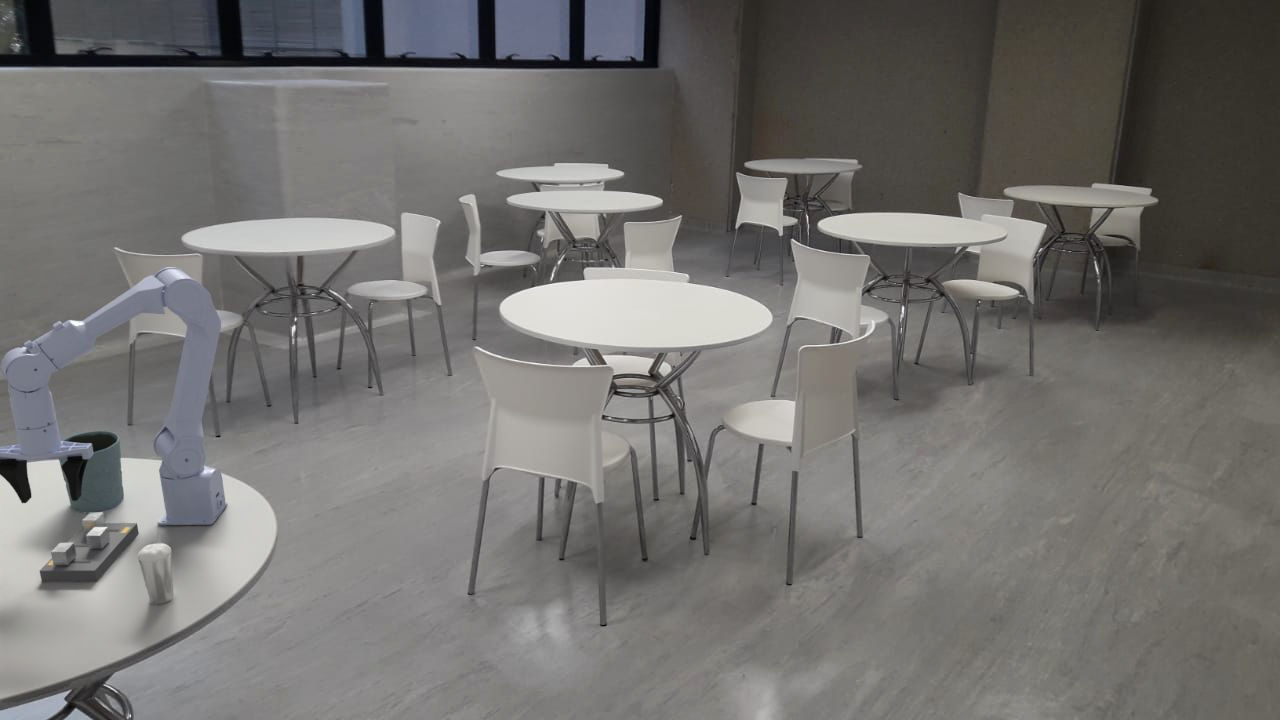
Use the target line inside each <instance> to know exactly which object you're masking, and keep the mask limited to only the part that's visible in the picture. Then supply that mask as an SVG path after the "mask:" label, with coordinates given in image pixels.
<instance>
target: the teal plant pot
mask: <svg viewBox="0 0 1280 720" xmlns="http://www.w3.org/2000/svg"><path fill="white" fill-rule="evenodd" d="M61 441H66V442H75V443H92V447H93V452H94V454H93V455H92V457H91V458H90V459H88V462H87V465H86V468H85V471H84V475H83V480H82V490H81V496H80V498H79V499H78V500H77V501H72V498H71V495H70V489H69V484H68V481H67V478H66V476H65V473H64V471H63V469H62V467H61V466H62V465H63V464H64V463H65V462H66V461H67V458H63V459H58V461H59V464H60V469H61V472H62V477H63V480H64V482H65V489H66V492H67V495H68V499H69V504H70V507H71V508H72V509H73V511H75V512H77V513H82V514H85V513H86V514H89V513H90V512H104V511H107V510H109V509H112V508H115V507H117V506H119V504H121V503H122V502H123V500H124V497H125V494H124V486H123V472H122V461H121V459H122V456H121V455H122V454H121V438H120V437H119V435H118V434H117V433H115V432H113V431H107V430H93V431H90V430H89V431H83V432H80V433H75V434H73V435H70V436H67V437H65V438H63V439H62V440H61Z"/></svg>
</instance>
